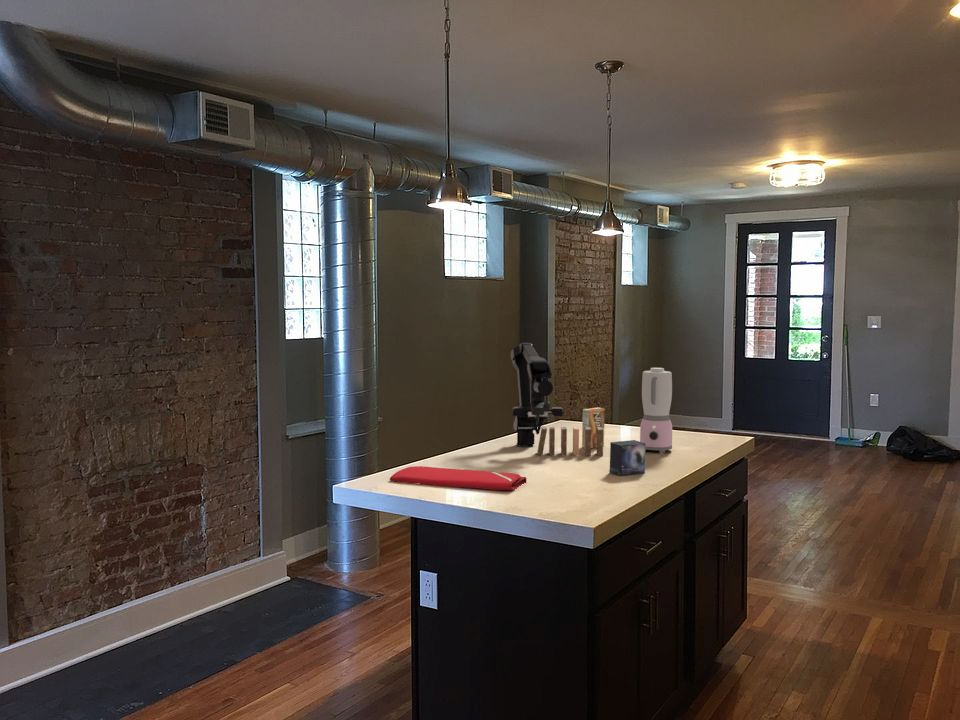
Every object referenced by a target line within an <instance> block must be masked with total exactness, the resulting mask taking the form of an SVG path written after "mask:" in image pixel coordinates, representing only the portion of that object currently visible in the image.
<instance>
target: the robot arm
mask: <svg viewBox="0 0 960 720" xmlns="http://www.w3.org/2000/svg"><path fill="white" fill-rule="evenodd" d="M510 360H511V362H512V367H514V369H515V370H516V373H517V386H518V387H517V388H518V403H519V406H514V407H512V416H513V417H514V416H515V418H514V421H513V426H512V427H513V430H514V431H516V432H517V435H516V438H517V439H516V440H517V442H516V446H517V447H534V445H535V433H536V435H540V433H541V429H542V425H543V423H544V421H545V419H548V417H549V416H548V415H553V416H554V417H563V416H564V409H563V408H562V407H561V406H552V407H551V406H550V401H546V397H548V396H550V395H551V394H552V393H553V390H554V386H553V384H552V382H551V381H549V379H552V375H553V373H552V370H551V367H550V364H549V362H548V361H547V360H546V359H545V358H544V357H541V356H539V354H538V352H537V351H536V349H535V348H534V343H531V342H521V343H519V345H517V346H515V347H513V348H512V350H511V351H510ZM538 416H539V417H538ZM534 431H535V432H534Z"/></svg>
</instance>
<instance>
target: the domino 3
mask: <svg viewBox="0 0 960 720" xmlns="http://www.w3.org/2000/svg"><path fill="white" fill-rule="evenodd" d="M560 430H561V431H560V443H561V444H560V454H562V455H567V451H568V449H567V448H568V447H567V445H568V444H567V443H568V441H567V440H568V438H567V436H568V428H567V427H566V426H561V427H560ZM562 455H561V456H562Z"/></svg>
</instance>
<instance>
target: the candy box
mask: <svg viewBox="0 0 960 720" xmlns="http://www.w3.org/2000/svg"><path fill="white" fill-rule="evenodd" d="M605 411H606V409H605V407H591V408H590V407H589V408H583V409H582V428H581V429H582V431H581V432H582V433H581V437H582V438H581V448H583V447H584V449H585V427H590V428H591V449H594V448H595V447H596V448H597V427H602V428H603V447H604V446H605V421H606V420H605V418H606V417H605V415H606V413H605Z"/></svg>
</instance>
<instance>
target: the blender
mask: <svg viewBox="0 0 960 720" xmlns="http://www.w3.org/2000/svg"><path fill="white" fill-rule="evenodd" d="M672 374H673V373H672V372H671V371H669V370H668V371H667V370H665V368H663V367H650V370H644V371H643V372H642V380H641V402H642V408H643V417H642V419H641V422H640V426H639V430H640V432H639V442H643V443H646V446H645V453H646V452H647V450H649V451H658V453H659V454H660V453H663V454H665V453H666V451H668V450H669V451H670V450H672V449H673V424H672V421H671V419H670V410H671V405H672V398H673V377H672Z"/></svg>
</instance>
